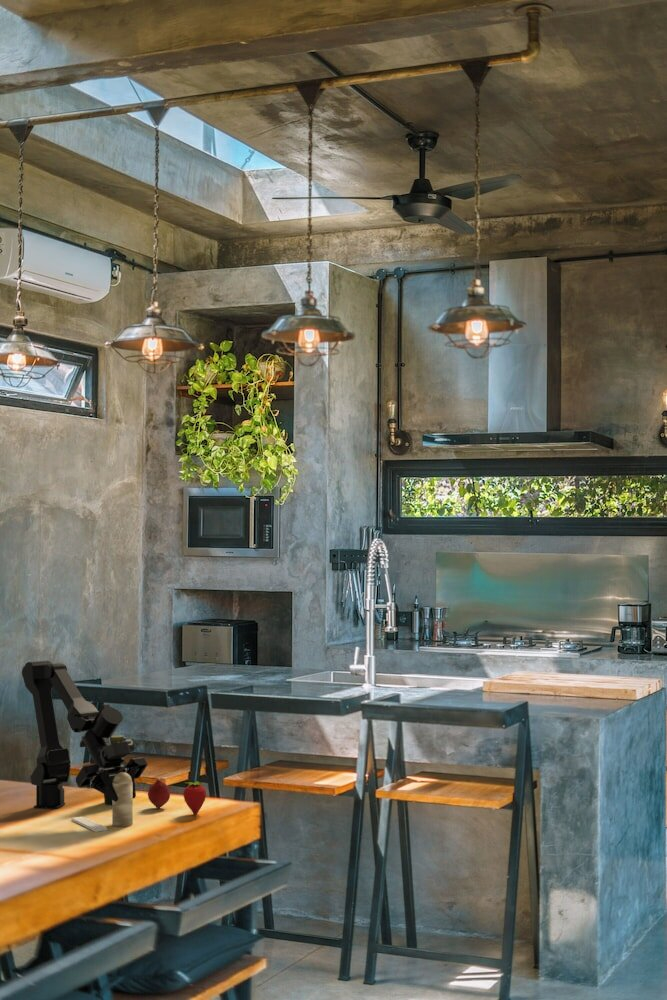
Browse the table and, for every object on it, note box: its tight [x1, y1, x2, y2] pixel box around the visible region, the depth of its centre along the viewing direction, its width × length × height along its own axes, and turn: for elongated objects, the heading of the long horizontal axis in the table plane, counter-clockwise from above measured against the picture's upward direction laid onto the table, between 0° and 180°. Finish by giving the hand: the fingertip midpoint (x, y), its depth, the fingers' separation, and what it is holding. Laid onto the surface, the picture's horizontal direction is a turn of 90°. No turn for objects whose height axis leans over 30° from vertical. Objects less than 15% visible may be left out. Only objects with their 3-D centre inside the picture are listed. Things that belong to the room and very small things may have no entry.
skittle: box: [111, 772, 134, 828], centre depth 304 cm, size 5×5×13 cm
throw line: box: [70, 816, 108, 833], centre depth 304 cm, size 16×3×1 cm, turn 33°
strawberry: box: [182, 780, 207, 815], centre depth 316 cm, size 6×8×10 cm
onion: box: [147, 777, 171, 809], centre depth 324 cm, size 6×6×8 cm
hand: (125, 798), depth 303 cm, fingers closed on skittle, 5 cm apart
